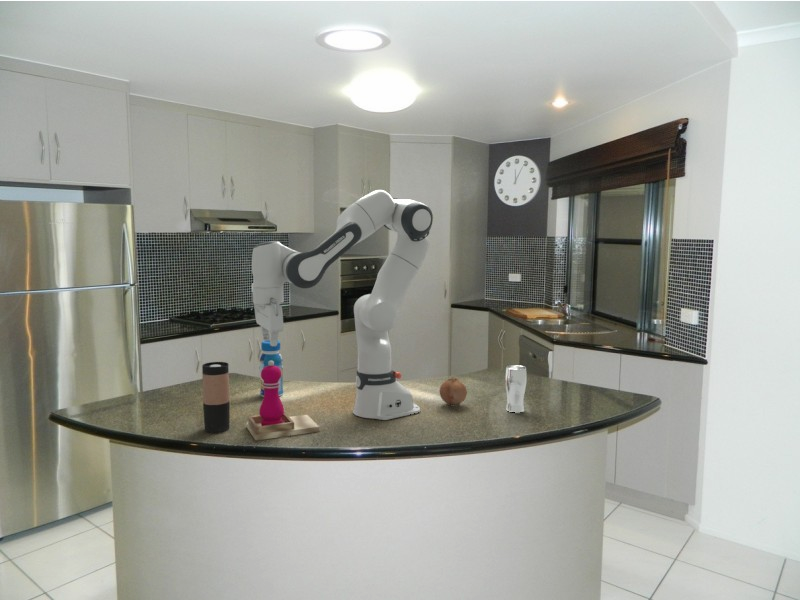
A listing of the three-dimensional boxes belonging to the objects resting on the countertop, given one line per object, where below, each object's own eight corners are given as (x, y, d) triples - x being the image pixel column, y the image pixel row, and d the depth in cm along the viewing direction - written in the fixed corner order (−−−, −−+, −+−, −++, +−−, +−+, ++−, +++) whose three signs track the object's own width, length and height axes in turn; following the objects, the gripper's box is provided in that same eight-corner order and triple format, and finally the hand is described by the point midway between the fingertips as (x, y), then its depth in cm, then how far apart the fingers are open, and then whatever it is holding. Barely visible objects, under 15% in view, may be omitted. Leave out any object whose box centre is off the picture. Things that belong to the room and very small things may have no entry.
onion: (443, 400, 208) (443, 373, 207) (469, 403, 205) (469, 375, 204) (436, 407, 200) (436, 379, 198) (462, 410, 196) (463, 381, 195)
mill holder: (306, 419, 186) (306, 408, 186) (319, 431, 175) (319, 420, 174) (246, 427, 178) (246, 416, 178) (255, 440, 167) (255, 428, 166)
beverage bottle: (272, 399, 208) (271, 344, 206) (255, 396, 212) (253, 342, 210) (288, 394, 216) (287, 340, 213) (271, 391, 220) (270, 338, 218)
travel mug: (199, 429, 176) (197, 364, 174) (222, 423, 181) (221, 360, 179) (211, 435, 171) (209, 368, 169) (235, 429, 176) (233, 364, 174)
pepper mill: (278, 430, 171) (277, 363, 168) (255, 428, 172) (254, 362, 170) (288, 423, 178) (287, 358, 175) (266, 421, 179) (265, 357, 177)
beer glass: (508, 406, 202) (510, 364, 200) (528, 409, 198) (529, 366, 196) (501, 411, 196) (502, 368, 194) (521, 415, 192) (522, 370, 190)
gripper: (288, 299, 163) (289, 348, 164) (271, 293, 181) (272, 337, 182) (265, 300, 160) (267, 350, 161) (250, 294, 178) (252, 338, 180)
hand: (269, 343), depth 172 cm, fingers open, 8 cm apart
